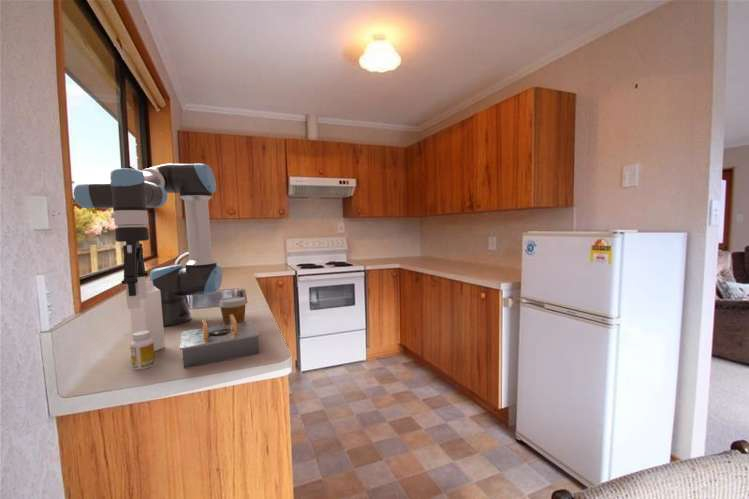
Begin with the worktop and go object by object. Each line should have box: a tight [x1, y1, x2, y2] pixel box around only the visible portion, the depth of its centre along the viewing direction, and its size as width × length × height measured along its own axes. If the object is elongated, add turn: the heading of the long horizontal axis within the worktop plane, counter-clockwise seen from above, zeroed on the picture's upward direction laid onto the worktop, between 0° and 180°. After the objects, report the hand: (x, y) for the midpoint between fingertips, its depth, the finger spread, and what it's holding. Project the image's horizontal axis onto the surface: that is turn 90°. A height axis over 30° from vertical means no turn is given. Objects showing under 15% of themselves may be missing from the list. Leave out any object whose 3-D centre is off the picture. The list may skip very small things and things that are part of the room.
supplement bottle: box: [129, 331, 156, 371], centre depth 96 cm, size 5×5×10 cm
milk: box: [129, 280, 166, 352], centre depth 108 cm, size 6×6×22 cm
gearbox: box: [179, 314, 261, 369], centre depth 105 cm, size 17×21×10 cm
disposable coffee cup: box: [218, 296, 248, 325], centre depth 125 cm, size 10×10×12 cm
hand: (137, 303), depth 94 cm, fingers open, 13 cm apart
